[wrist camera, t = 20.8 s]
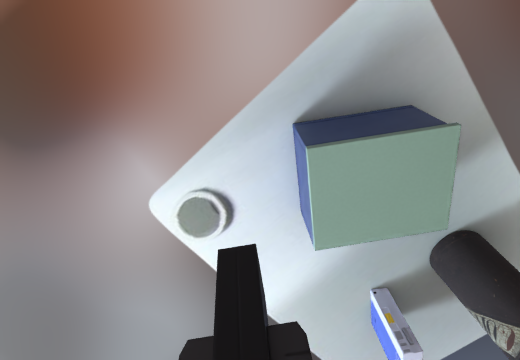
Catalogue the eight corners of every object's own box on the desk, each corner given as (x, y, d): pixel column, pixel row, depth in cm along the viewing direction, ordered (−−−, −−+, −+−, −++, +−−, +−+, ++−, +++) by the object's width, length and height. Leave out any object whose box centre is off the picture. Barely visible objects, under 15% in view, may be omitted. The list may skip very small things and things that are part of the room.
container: (417, 252, 52) (514, 376, 34) (470, 217, 50) (602, 330, 32) (443, 282, 56) (545, 410, 38) (494, 250, 53) (626, 370, 36)
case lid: (456, 122, 35) (461, 124, 34) (443, 225, 41) (447, 229, 40) (305, 146, 35) (306, 148, 34) (313, 246, 40) (315, 250, 40)
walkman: (387, 320, 59) (422, 389, 48) (371, 323, 59) (403, 392, 48) (387, 285, 55) (425, 352, 44) (370, 289, 55) (404, 356, 44)
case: (411, 104, 42) (448, 123, 35) (405, 195, 48) (436, 226, 41) (292, 123, 42) (305, 145, 35) (300, 211, 48) (313, 246, 40)
